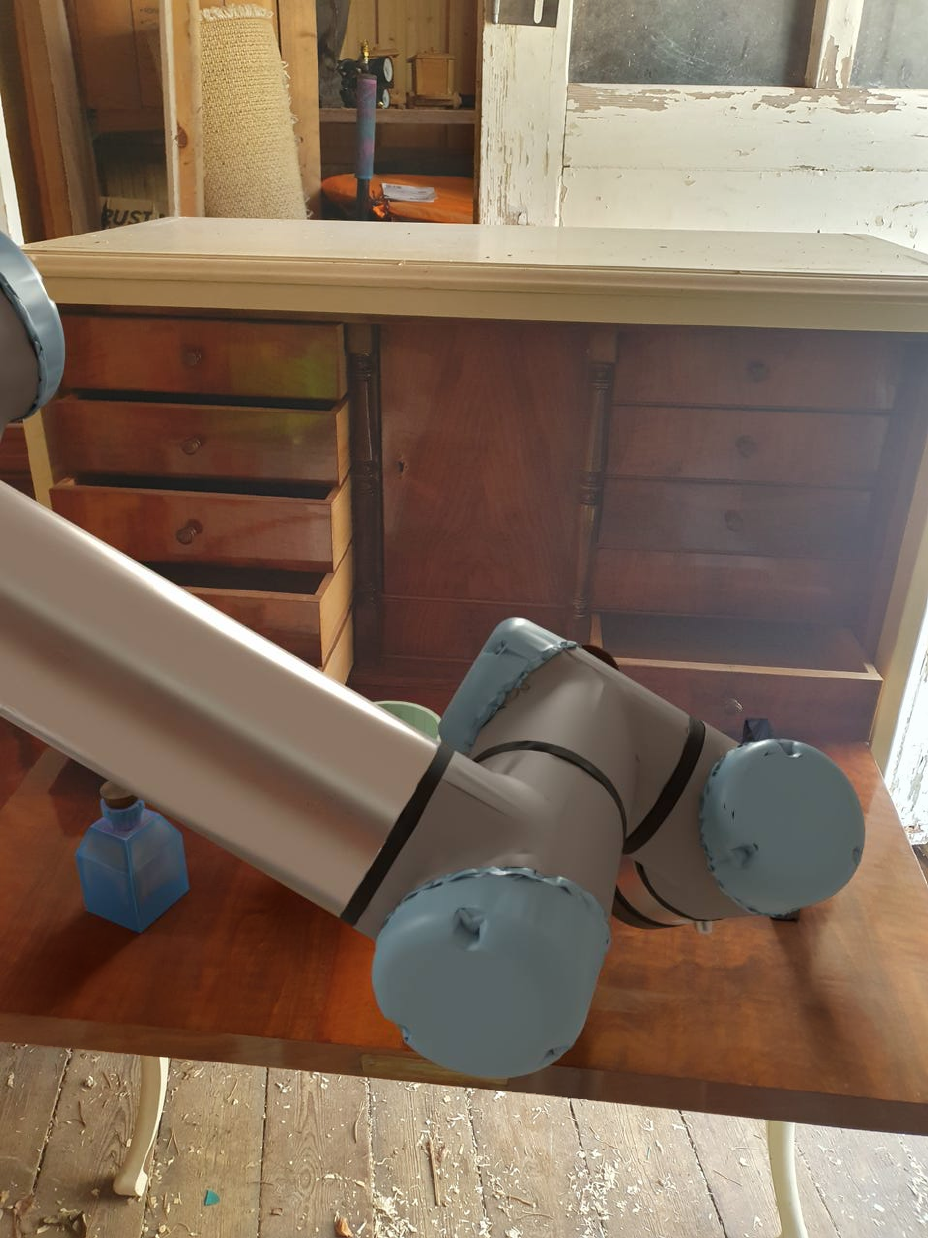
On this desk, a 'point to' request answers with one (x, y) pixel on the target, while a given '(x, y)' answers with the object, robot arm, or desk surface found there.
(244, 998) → the desk surface
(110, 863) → the perfume bottle
